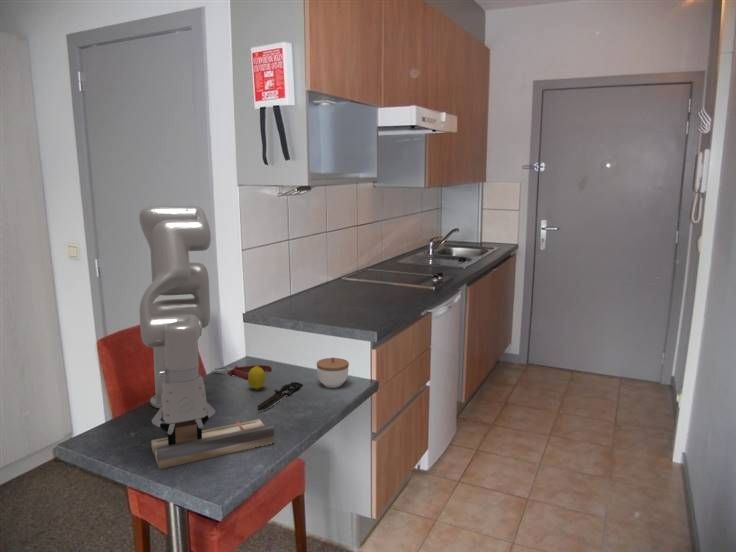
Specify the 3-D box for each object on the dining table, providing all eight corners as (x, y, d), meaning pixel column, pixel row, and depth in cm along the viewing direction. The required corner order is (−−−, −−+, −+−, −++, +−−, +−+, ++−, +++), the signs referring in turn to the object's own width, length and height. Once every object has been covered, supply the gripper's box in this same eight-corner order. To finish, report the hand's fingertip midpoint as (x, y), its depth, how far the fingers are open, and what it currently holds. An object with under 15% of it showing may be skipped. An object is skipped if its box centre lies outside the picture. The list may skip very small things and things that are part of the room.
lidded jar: (353, 382, 186) (354, 355, 185) (339, 392, 176) (339, 364, 175) (326, 377, 190) (326, 351, 189) (310, 387, 181) (310, 360, 179)
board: (150, 446, 138) (150, 429, 137) (258, 424, 151) (258, 409, 151) (159, 469, 127) (158, 451, 126) (274, 443, 140) (273, 427, 140)
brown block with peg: (169, 437, 138) (168, 414, 137) (190, 433, 140) (189, 411, 139) (176, 452, 130) (175, 428, 129) (197, 447, 133) (196, 424, 132)
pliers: (219, 368, 199) (219, 361, 199) (272, 371, 197) (272, 364, 196) (205, 379, 188) (205, 371, 188) (261, 382, 185) (261, 375, 185)
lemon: (265, 392, 175) (264, 368, 174) (247, 393, 174) (247, 369, 173) (265, 386, 181) (265, 363, 179) (248, 386, 180) (248, 363, 179)
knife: (261, 415, 159) (261, 411, 158) (244, 411, 161) (243, 406, 161) (307, 387, 181) (307, 383, 181) (291, 384, 184) (291, 380, 184)
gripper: (146, 383, 123) (150, 459, 126) (222, 372, 131) (224, 443, 134) (142, 374, 129) (146, 445, 132) (214, 363, 138) (216, 431, 141)
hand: (185, 443), depth 133 cm, fingers closed on brown block with peg, 5 cm apart
